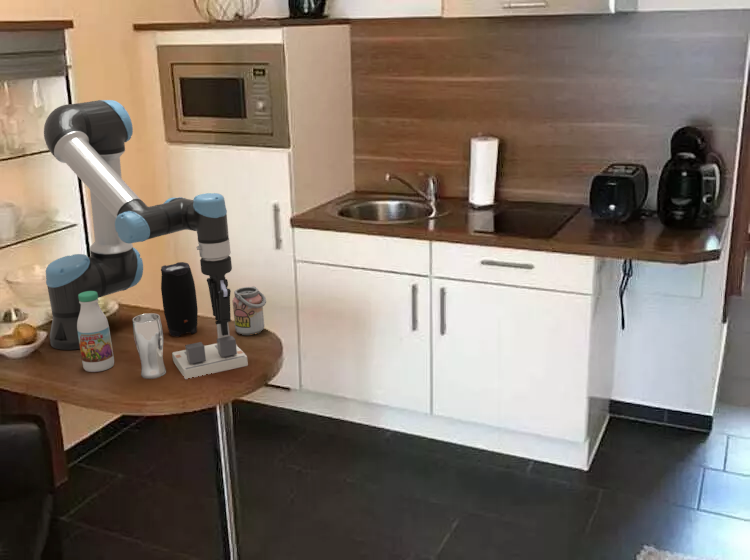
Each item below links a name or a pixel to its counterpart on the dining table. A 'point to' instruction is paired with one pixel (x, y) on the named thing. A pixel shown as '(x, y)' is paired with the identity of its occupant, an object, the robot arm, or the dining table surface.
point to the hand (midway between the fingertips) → (224, 345)
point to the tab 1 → (195, 352)
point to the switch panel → (209, 362)
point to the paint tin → (248, 310)
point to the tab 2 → (226, 346)
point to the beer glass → (149, 344)
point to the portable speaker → (179, 298)
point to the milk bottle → (94, 334)
